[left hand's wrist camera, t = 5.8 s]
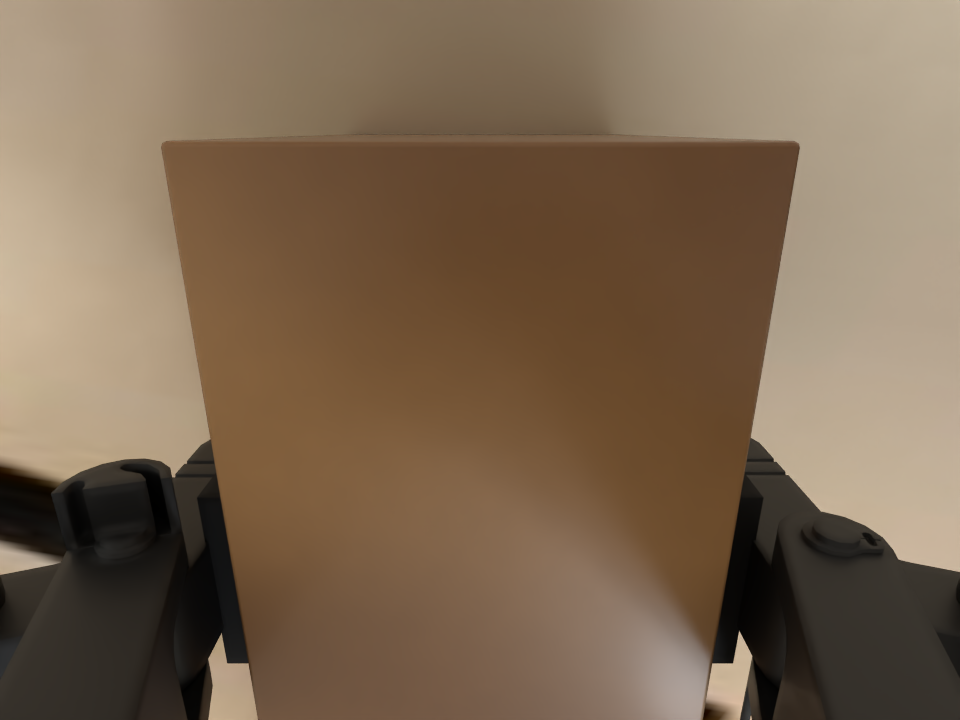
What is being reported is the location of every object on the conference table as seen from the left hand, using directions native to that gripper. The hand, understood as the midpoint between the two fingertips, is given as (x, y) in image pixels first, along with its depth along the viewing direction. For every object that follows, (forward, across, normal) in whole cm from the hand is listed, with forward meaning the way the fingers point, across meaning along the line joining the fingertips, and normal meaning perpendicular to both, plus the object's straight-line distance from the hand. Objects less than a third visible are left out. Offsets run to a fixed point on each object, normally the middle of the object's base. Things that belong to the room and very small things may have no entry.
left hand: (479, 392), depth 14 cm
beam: (+1, 0, -32) cm, 32 cm away
